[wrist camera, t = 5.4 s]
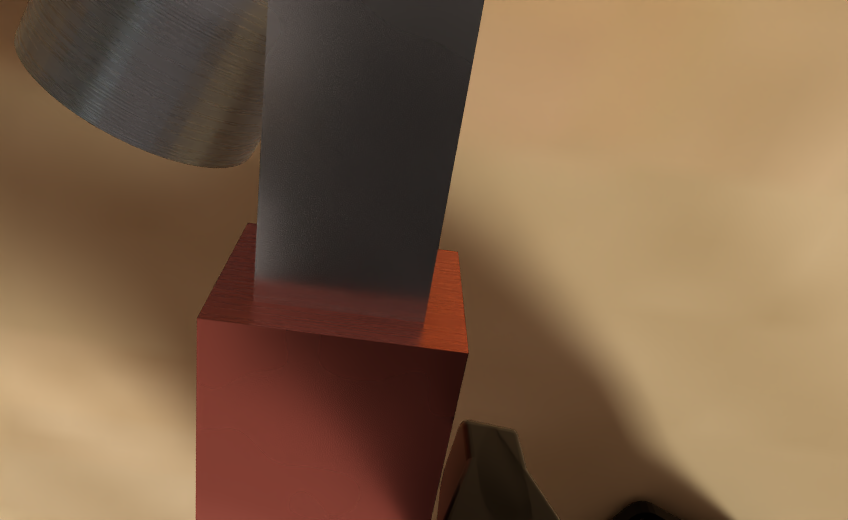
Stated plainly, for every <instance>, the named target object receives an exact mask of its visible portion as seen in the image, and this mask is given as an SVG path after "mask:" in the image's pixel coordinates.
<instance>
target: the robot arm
mask: <svg viewBox="0 0 848 520" xmlns="http://www.w3.org/2000/svg"><path fill="white" fill-rule="evenodd" d="M640 519H643V520H681V519H679V518H677V517H675V516H674V515H672V514H670V513H668V512H666V511H665V510H663V509H661V508H659V507H657V506H656V505H654V504H652V503H649V502H646V501H639V502H635V503H632V504H630V505H629V506H627V507H626V508H625V509H624V510H623V511H621V512H620V513H619V514H618V515H617V516H616V517H614V518H613V519H612V520H640ZM437 520H560V519H559V517H558V516H557V514H556V513H555V511H554V510H553V508H552V507H551V505H550V504H549V502H548V501H547V499H546V498H545V496H544V495H543V493H542V492H541V490H540V489H539V487H538V486H537V484H536V483H535V481H534V480H533V478H532V477H531V475H530V474H529V472H528V471H527V467H526V463H525V460H524V456H523V452H522V448H521V444H520V440H519V437H518V434H517V432H516V431H514V430H513V429H510V428H505V427H500V426H495V425H491V424H486V423H481V422H476V421H471V420H465V421H463V422H462V423H461V424H460V426H459V428H458V430H457V433H456V436H455V439H454V442H453V445H452V448H451V451H450V454H449V457H448V460H447V463H446V466H445V469H444V472H443V476H442V481H441V487H440V494H439V505H438V515H437Z"/></svg>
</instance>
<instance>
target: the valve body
mask: <svg viewBox="0 0 848 520" xmlns="http://www.w3.org/2000/svg"><path fill="white" fill-rule="evenodd" d="M267 12H268V0H29V2H28V4H27V7H26V9H25V12H24V14H23V17H22V19H21V22H20V24H19V27H18V29H17V32H16V34H15V40H14V44H15V48H16V52H17V54H18V56H19V58H20V60H21V62H22V64H23V65H24V66H25V68H26V69H27V71H28V72H29V73H30V74H31V75H32V77H33V78H34V79H35V80H36V81H37V82H38V83H39V84H40V85H41V86H42V87H43V88H44V89H45V90H46V91H47V92H48V93H49V94H50V95H52V96H53V97H54V98H55V99H57V100H58V101H59V102H60V103H62V104H63V105H64V106H65V107H67V108H68V109H70V110H71V111H72V112H74V113H75V114H77V115H78V116H80V117H81V118H83V119H84V120H86V121H88V122H89V123H91V124H92V125H94V126H96V127H97V128H99V129H101V130H103V131H105V132H106V133H108V134H110V135H112V136H114V137H116V138H118V139H120V140H122V141H124V142H126V143H128V144H130V145H132V146H135V147H137V148H140V149H142V150H144V151H147V152H149V153H152V154H155V155H158V156H161V157H163V158H166V159H170V160H173V161H177V162H181V163H185V164H189V165H194V166H200V167H209V168H227V167H234V166H237V165H240V164H242V163H244V162H246V161H247V160H248V159H249V158H250V157H251V155H252V153H253V152H254V150H255V148H256V147H257V145H258V143H259V142H260V140H261V133H262V112H263V92H264V72H265V52H266V32H267Z"/></svg>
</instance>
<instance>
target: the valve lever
mask: <svg viewBox="0 0 848 520" xmlns="http://www.w3.org/2000/svg"><path fill="white" fill-rule="evenodd" d="M483 5H484V0H268V12H267V32H266V52H265V72H264V92H263V112H262V133H261V153H260V173H259V193H258V213H257V224H253V223H248V224H247V225H246V227H245V229H244V231H243V233H242V235H241V237H240V239H239V240H238V242H237V244H236V246H235V248H234V250H233V252H232V254H231V256H230V257H229V259H228V261H227V263H226V265H225V267H224V269H223V271H222V272H221V274H220V276H219V278H218V280H217V282H216V284H215V286H214V287H213V289H212V291H211V293H210V295H209V297H208V299H207V301H206V302H205V304H204V306H203V308H202V310H201V312H200V314H199V316H198V318H197V391H196V520H431V517H432V512H433V508H434V504H435V499H436V495H437V490H438V486H439V482H440V477H441V473H442V468H443V464H444V459H445V455H446V451H447V446H448V442H449V437H450V433H451V429H452V424H453V420H454V415H455V411H456V407H457V402H458V398H459V393H460V389H461V385H462V380H463V376H464V371H465V367H466V362H467V358H468V354H469V352H468V343H467V333H466V324H465V314H464V305H463V295H462V286H461V276H460V267H459V257H458V252H455V251H448V250H441V249H438V246H439V241H440V236H441V230H442V225H443V220H444V214H445V209H446V204H447V198H448V193H449V187H450V182H451V177H452V171H453V166H454V161H455V155H456V150H457V144H458V139H459V134H460V128H461V123H462V118H463V112H464V107H465V101H466V96H467V91H468V85H469V80H470V75H471V69H472V64H473V59H474V53H475V48H476V42H477V37H478V32H479V26H480V21H481V16H482V10H483Z"/></svg>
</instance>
